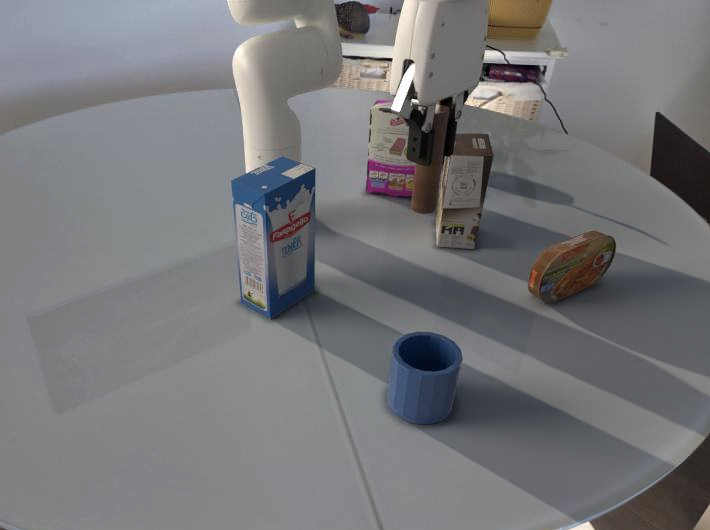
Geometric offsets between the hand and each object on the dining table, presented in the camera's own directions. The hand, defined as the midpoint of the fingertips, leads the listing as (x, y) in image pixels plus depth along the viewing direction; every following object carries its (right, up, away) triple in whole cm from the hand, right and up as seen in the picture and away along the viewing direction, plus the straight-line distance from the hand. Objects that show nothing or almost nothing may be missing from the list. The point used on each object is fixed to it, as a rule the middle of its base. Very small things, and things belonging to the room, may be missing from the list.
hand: (429, 156), depth 73 cm
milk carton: (-16, -14, +25) cm, 33 cm away
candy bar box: (+7, +8, +49) cm, 50 cm away
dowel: (0, -5, +4) cm, 7 cm away
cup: (0, -29, +6) cm, 29 cm away
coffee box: (+14, -3, +36) cm, 39 cm away
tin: (+26, -14, +22) cm, 37 cm away
